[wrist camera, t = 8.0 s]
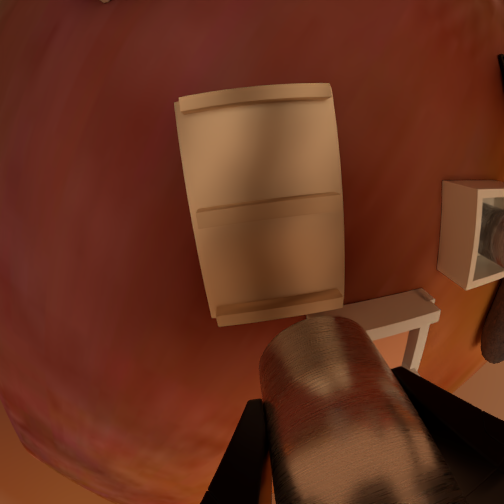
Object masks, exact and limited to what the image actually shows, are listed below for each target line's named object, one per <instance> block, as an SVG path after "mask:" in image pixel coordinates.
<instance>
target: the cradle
mask: <svg viewBox="0 0 504 504" xmlns="http://www.w3.org/2000/svg"><path fill="white" fill-rule="evenodd" d="M434 302H435V299H434V298H433V297H432V296H431V295H430V294H429V293H427V292H426V291H425V290H424V289H423V288H419V289H415V290H411V291H407V292H403V293H398V294H394V295H390V296H385V297H381V298H376V299H371V300H367V301H362V302H357V303H352V304H347V305H343V308H339V309H334V310H329V311H323V312H318V313H312V314H306V318H307V319H309V318H313V317H318V316H330V315H333V316H341V317H346V318H349V319H351V320H353V321H355V322H357V323H358V324H359V325H361V326H362V327H363V328H364V330H365V331H366V332H367V334H368V335H369V337H370V338H371V340H372V341H374V340H377V339H381V338H385V337H389V336H392V335H396V334H399V333H403V332H406V331H409V335H408V339H407V344H406V348H405V353H404V357H403V361H402V365H401V366H402V367H404V368H406V369H408V370H410V371H411V372H413V373H415V374H417V375H418V376H420V375H419V374H418V372H417V371H418V367H419V364H420V361H421V357H422V354H423V350H424V346H425V342H426V338H427V334H428V330H429V326H430V324H432V323H435V322H438V321H439V316H440V312H441V310H440V309H439V308H438V307H437V306H436V305H435V304H434ZM420 377H421V376H420Z"/></svg>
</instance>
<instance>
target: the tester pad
mask: <svg viewBox="0 0 504 504" xmlns="http://www.w3.org/2000/svg"><path fill="white" fill-rule="evenodd" d="M408 335H409V331H406V332H403V333H399V334H396V335H392V336H389V337H385V338H381V339H377V340H374V341H373V343H374V344H375V346H376V347H377V349H378V350H379V352H380V354H381V355H382V357H383V358H384V360H385V361H386V363H387V364H388V366H389V367H390V369H392V368H395V367H398V366H401V365H402V361H403V357H404V353H405V348H406V344H407V339H408Z"/></svg>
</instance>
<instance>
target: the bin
mask: <svg viewBox="0 0 504 504" xmlns="http://www.w3.org/2000/svg"><path fill="white" fill-rule="evenodd" d="M482 202H483V203H486V204H489V205H492V206H495V207H498V208H501V209H503V210H504V182H500V181H496V180H442V214H441V231H440V243H439V254H438V262H437V270H438V271H440V272H441V273H443V274H444V275H445V276H447V277H448V278H450V279H451V280H452V281H454V282H455V283H456V284H458V285H459V286H461V287H462V288H463V289H465V290H469V289H472V288H475V287H478V286H481V285H484V284H487V283H490V282H492V281H495V280H498V279H501V278H503V277H504V268H503V267H501V266H499V265H497V264H496V263H494V262H492V261H491V260H489V259H487V258H485V257H484V256H482V255H480V254H478V246H479V238H480V229H481V218H482Z"/></svg>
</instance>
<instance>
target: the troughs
mask: <svg viewBox="0 0 504 504" xmlns="http://www.w3.org/2000/svg"><path fill="white" fill-rule="evenodd" d="M174 107H175V115H176V123H177V131H178V138H179V145H180V152H181V159H182V166H183V172H184V178H185V185H186V191H187V197H188V203H189V208H190V214H191V220H192V225H193V231H194V236H195V241H196V247H197V252H198V257H199V262H200V267H201V272H202V276H203V281H204V286H205V291H206V295H207V300H208V304H209V309H210V313H211V317H212V318H216V319H217V324H218V327H222V326H231V325H239V324H247V323H254V322H261V321H268V320H275V319H281V318H288V317H294V316H300V315H306V314H312V313H318V312H323V311H329V310H334V309H339V308H343V298H344V280H345V251H344V214H343V194H342V178H341V165H340V154H339V144H338V134H337V126H336V117H335V110H334V102H333V95H332V89H331V87H330V83H300V84H278V85H264V86H253V87H243V88H235V89H227V90H220V91H213V92H207V93H201V94H195V95H190V96H184V97H179V102H174Z"/></svg>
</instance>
